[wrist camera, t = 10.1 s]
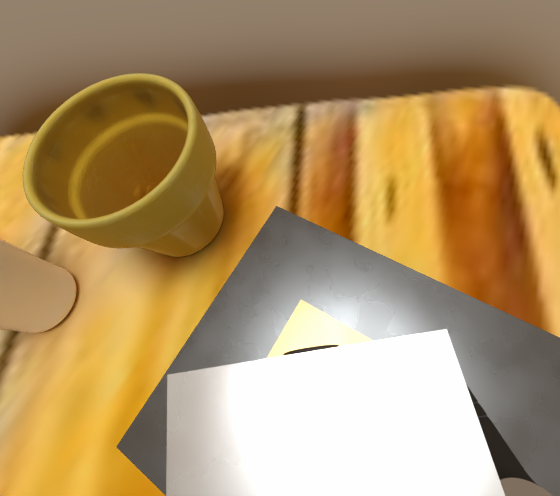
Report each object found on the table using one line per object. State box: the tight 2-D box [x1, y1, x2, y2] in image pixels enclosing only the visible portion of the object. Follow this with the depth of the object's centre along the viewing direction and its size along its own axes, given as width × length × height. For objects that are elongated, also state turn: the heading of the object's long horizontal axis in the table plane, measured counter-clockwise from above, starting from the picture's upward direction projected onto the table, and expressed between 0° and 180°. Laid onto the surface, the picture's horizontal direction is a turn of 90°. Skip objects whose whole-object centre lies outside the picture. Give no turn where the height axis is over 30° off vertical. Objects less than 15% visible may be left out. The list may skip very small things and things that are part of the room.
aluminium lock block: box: [166, 329, 505, 496], centre depth 9 cm, size 6×6×10 cm
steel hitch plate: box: [117, 206, 560, 496], centre depth 17 cm, size 18×16×4 cm
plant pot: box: [23, 73, 224, 257], centre depth 21 cm, size 10×10×10 cm
